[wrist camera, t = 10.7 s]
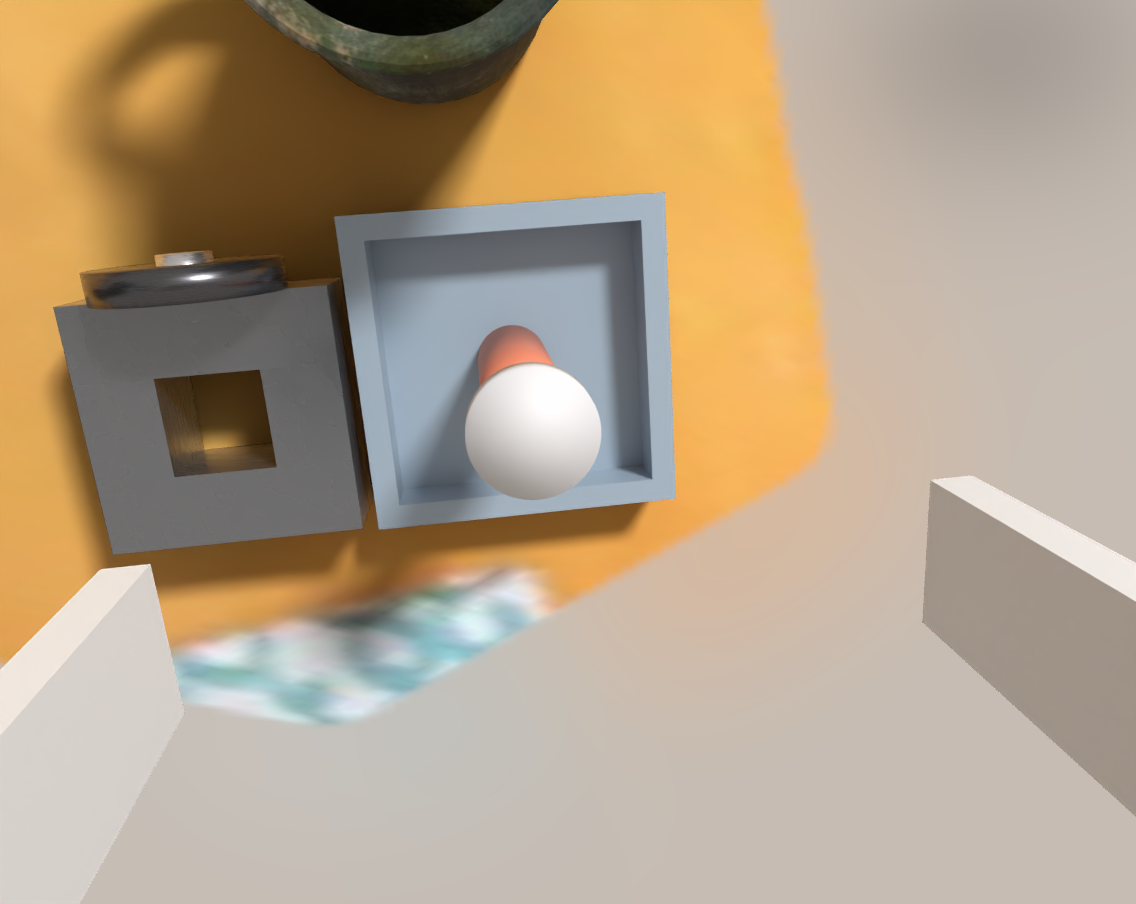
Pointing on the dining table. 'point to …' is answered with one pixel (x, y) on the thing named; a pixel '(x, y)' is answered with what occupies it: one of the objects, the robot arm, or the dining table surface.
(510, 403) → the pin
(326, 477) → the block
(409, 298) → the tray
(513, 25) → the mug
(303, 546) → the dining table surface
